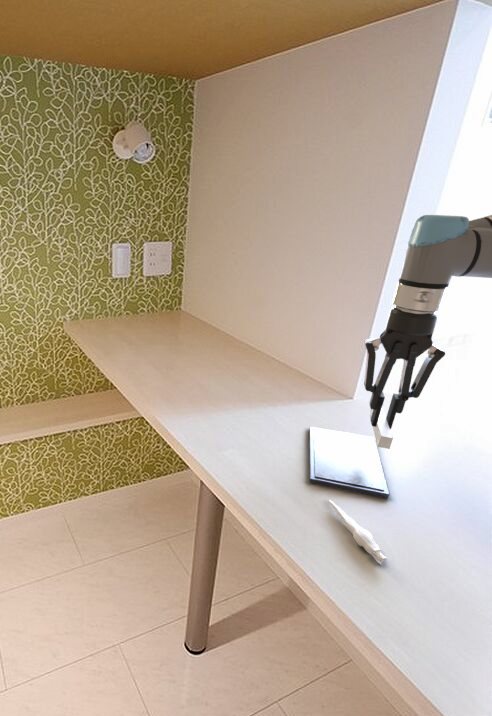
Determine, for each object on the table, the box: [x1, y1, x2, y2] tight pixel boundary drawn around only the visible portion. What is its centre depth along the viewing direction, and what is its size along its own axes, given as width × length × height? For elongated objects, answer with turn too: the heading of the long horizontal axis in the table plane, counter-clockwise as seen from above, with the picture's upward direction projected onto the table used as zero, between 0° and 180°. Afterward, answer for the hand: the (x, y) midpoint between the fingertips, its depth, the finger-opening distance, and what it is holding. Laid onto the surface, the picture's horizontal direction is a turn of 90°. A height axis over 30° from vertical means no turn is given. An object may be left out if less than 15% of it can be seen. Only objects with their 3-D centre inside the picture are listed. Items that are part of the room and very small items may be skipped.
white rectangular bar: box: [369, 406, 394, 450], centre depth 88 cm, size 2×16×2 cm, turn 161°
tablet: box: [308, 426, 390, 499], centre depth 93 cm, size 14×22×1 cm, turn 161°
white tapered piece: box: [328, 499, 388, 565], centre depth 73 cm, size 15×3×2 cm, turn 11°
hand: (380, 424), depth 87 cm, fingers closed on white rectangular bar, 2 cm apart
